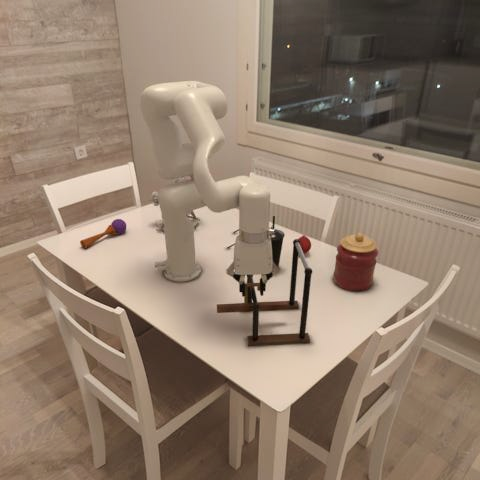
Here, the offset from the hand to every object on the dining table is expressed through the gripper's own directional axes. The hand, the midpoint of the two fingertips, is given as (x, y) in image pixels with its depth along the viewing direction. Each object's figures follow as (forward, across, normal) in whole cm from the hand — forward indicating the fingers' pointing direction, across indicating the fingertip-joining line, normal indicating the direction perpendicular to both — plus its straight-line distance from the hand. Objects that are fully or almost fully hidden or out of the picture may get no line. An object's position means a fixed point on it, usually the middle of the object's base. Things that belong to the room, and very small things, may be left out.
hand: (252, 292), depth 123 cm
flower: (+12, +24, -67) cm, 72 cm away
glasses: (+11, -5, -52) cm, 53 cm away
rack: (+11, -7, 0) cm, 13 cm away
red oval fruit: (+11, -23, -41) cm, 48 cm away
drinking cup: (+11, -10, -31) cm, 34 cm away
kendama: (+12, +52, -59) cm, 79 cm away
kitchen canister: (+11, -36, -21) cm, 43 cm away
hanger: (+5, 0, 0) cm, 5 cm away
